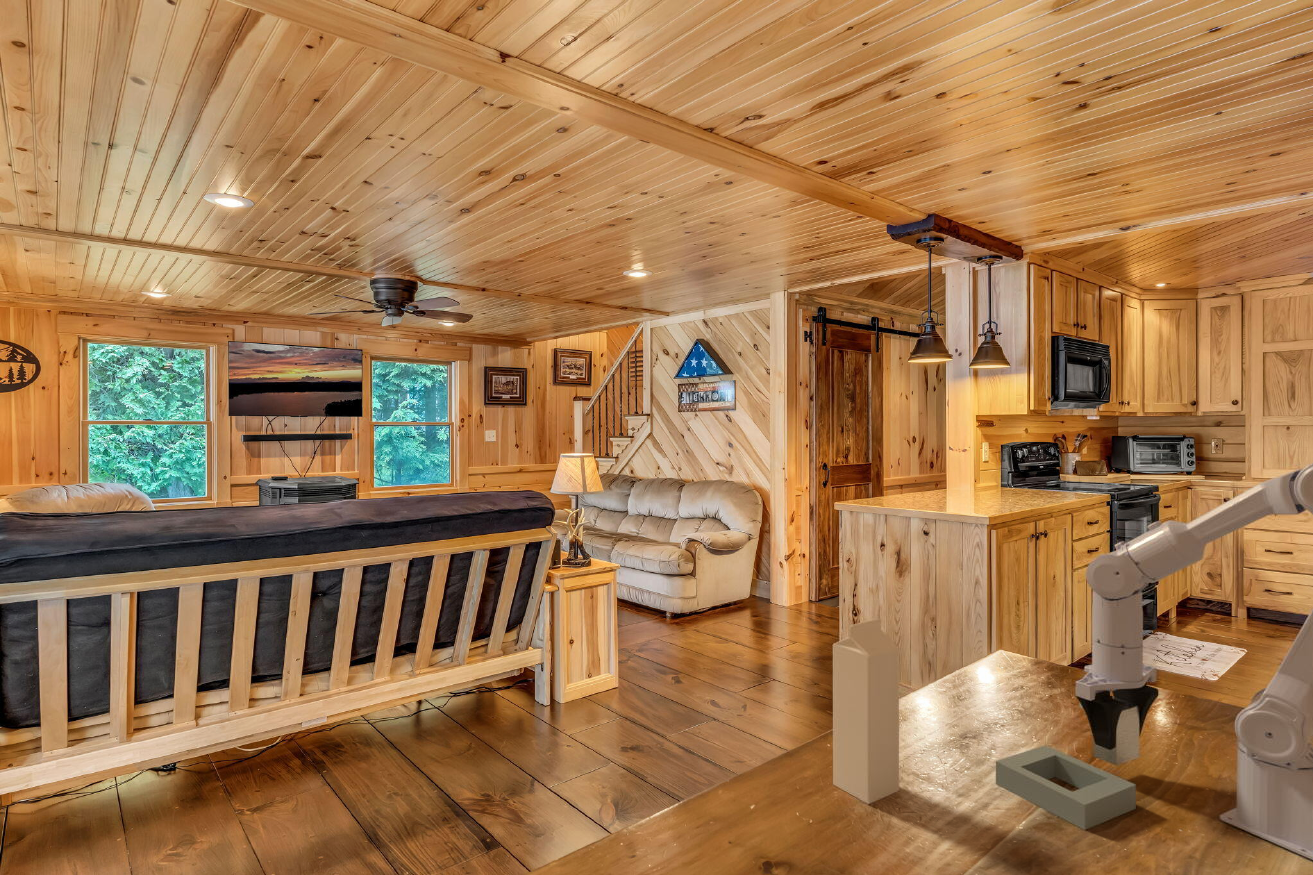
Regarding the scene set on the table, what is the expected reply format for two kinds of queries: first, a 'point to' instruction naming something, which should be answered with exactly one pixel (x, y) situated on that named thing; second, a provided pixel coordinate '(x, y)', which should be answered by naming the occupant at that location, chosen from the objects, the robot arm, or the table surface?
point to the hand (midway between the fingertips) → (1116, 741)
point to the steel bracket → (1123, 737)
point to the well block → (1082, 807)
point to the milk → (866, 713)
